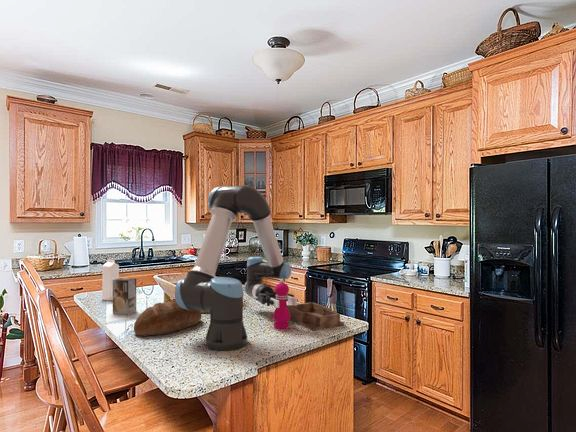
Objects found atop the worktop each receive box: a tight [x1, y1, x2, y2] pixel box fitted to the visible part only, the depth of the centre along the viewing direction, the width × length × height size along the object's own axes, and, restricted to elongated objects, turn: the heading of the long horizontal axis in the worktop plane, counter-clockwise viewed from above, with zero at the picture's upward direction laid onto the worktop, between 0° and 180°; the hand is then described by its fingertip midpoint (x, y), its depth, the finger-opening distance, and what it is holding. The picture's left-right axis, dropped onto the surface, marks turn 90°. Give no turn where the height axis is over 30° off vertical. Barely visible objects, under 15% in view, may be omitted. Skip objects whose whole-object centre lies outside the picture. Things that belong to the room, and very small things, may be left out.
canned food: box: [163, 280, 179, 303], centre depth 192 cm, size 8×8×12 cm
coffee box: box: [112, 277, 137, 315], centre depth 176 cm, size 9×6×16 cm
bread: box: [133, 299, 203, 337], centre depth 153 cm, size 16×29×11 cm, turn 142°
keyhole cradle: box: [287, 301, 345, 331], centre depth 163 cm, size 16×24×5 cm, turn 29°
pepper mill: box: [272, 279, 290, 330], centre depth 153 cm, size 7×7×20 cm
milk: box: [101, 259, 120, 301], centre depth 205 cm, size 6×6×22 cm
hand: (287, 303), depth 149 cm, fingers open, 8 cm apart
